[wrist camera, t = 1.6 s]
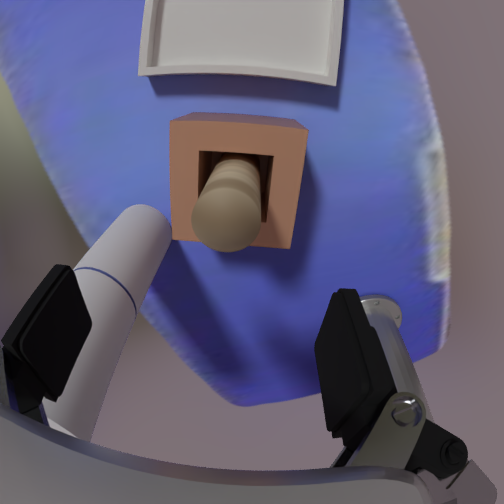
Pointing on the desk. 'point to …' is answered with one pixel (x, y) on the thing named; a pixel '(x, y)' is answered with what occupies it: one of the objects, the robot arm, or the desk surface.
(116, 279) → the cylindrical container
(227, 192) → the dowel pin
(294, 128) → the deep holder
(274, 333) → the desk surface
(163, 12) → the tray
